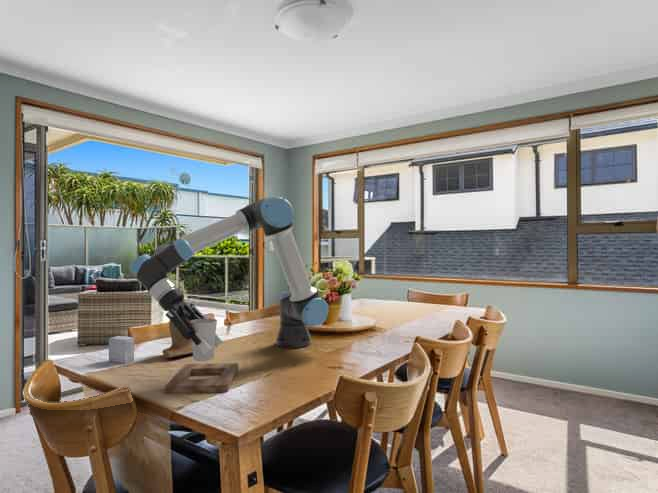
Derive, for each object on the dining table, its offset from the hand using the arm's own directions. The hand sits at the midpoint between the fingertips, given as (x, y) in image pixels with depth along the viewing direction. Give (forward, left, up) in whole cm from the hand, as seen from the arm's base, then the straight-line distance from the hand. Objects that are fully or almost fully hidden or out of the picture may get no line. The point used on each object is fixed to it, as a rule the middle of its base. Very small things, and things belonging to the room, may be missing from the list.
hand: (213, 347), depth 129 cm
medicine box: (+38, -24, -11) cm, 46 cm away
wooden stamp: (+19, -32, -11) cm, 39 cm away
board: (+3, -1, -11) cm, 11 cm away
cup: (+3, -1, -4) cm, 5 cm away
